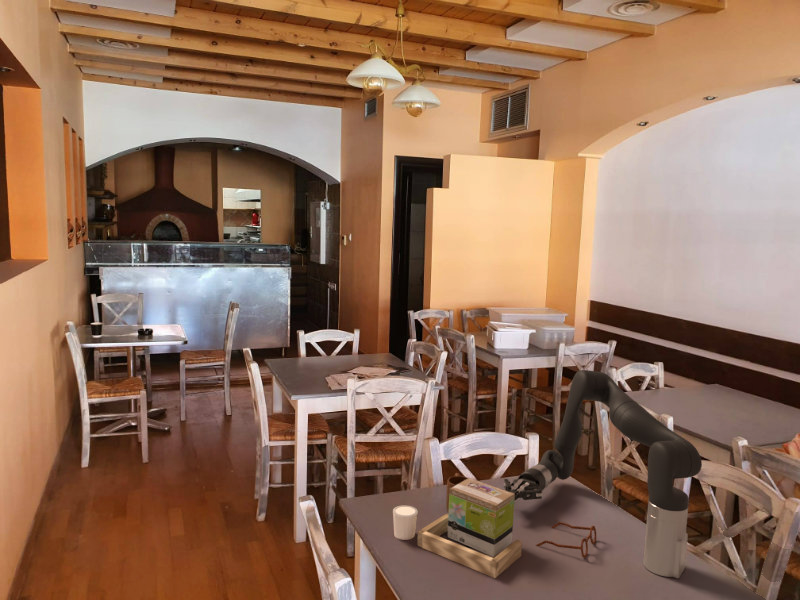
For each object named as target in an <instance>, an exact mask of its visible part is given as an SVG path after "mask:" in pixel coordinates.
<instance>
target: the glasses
mask: <svg viewBox="0 0 800 600" xmlns="http://www.w3.org/2000/svg"><path fill="white" fill-rule="evenodd" d="M559 525H562V526H565V527H568V528H569V529H575V530H584V531H589V534H588V535H587V536H586V538H584V537H583V538H582V540H581V543H580V546H577V545H568V544H560V543H559V544H558V543H556V542H554V541H552V540H551V541H550V540H544V541H541V542H539V543H536V544H535V546H536V547H541V546H543V545H545V544H548V545H549V544H550V545H552V546H555V547H558V548H562V549H563V548H565V549H573V550H580V552H581V556H582V558H583V559H584V558H585V559H586V558H587V556H588V553H589V549H588V548H589V547H588V542H589V540H590V543H591V544H592V545H595V544H596V542H597V530H596V526H595V525H591V527H589V526H588V527H587V526H578V525H577V526H576V525H571V524H568V523H566V522H561V521H559V522H557V523H555V524H554V525H552V526H551V527H550V528H551V529H555V528H557V527H558V526H559ZM593 532H594V533H593ZM592 533H593V534H594V537H593V534H592ZM584 543H585V553H584Z"/></svg>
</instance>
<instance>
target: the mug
mask: <svg viewBox="0 0 800 600" xmlns="http://www.w3.org/2000/svg"><path fill="white" fill-rule="evenodd" d="M468 478H469V477H466V476H462V475H461V474H460V473H459V472H456V473H455V474H454V475H453V476H449V478H447V483H446V499H445V500H446V501H445V507H446V508H445V509H446V511H447V512H448V513H449V494H450V488H452V487H454V486H456V485H457V484H459V483H461V482H463V481H464V480H466V479H468Z"/></svg>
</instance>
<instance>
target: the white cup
mask: <svg viewBox="0 0 800 600" xmlns="http://www.w3.org/2000/svg"><path fill="white" fill-rule="evenodd" d="M418 512H419V511H418V509H417V507H414V506H412V505H397V506H395V507H394V508H393V509H392V516H393V517H392V520H393V534H394V535H393V536H394V537H395V538H396V539H398V540H402V541H404V540H405V541H407V540H408V541H409V540H411V539H413V538H414V537H415V536H416V535H415V534H416V530H417V529H416V528H417V521H418Z"/></svg>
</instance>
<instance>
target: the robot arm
mask: <svg viewBox="0 0 800 600" xmlns="http://www.w3.org/2000/svg"><path fill="white" fill-rule="evenodd" d="M583 401H590V402H591V401H592V402H598V403H602V404H604V405H605V406H607V407H608V408H609V410H608V416H609V420H610V422H611V424H612V425H613V426H614V427H615V428H616V430H618V431H619V432H620V433H621V434H622V435H623V436H625V437H627V438H628V439H629V440H632V441H633V442H636V443H639V444H641V445H644V446H646V447H649V450H648V455H647V456H648V457H647V481H646V483H647V491H648V503H647V504H648V505H647V516H646V524H645V525H646V526H645V539H644V549H643V550H644V553H643V563H642V564H643V566H644V567H645V568H646V570H648V571H650V572H651V573H653V574H655V575H657V576H661V577H666V578H675V579H680V577H681V576H682V573H683V572H684V571H685V569H686V568H685V567H686V559H687V557H686V556H687V547H688V537H689V536H688V535H689V533H687V525H688V524H687V523H688V512H689V504H690V499H689V495H688V494H687V492H685V491H684V490H682V489H680V488H677V487H675V486H674V480H678V479H687V478H688V479H689V478H692V477H695V476H697V475H698V474H699V473H700V472H701V470H702V464H703V462H702V457H701V455H700V453H699V451H698V449H697V448H696V447H695V446H694V444H692V443H691V442H690V441H689V440H688V439H686V438H684V437H683V436H682V435H679V434H678V433H676V432H675V431H673V430H672V429H670V428H669V427H667V426H666V425H665V424H663V423H662V422H661V421H660V420H659V419H657V418H656V417H655V416H653V415H652V414H651V413H649V411H648V410H646V409H645V407H643V406H642V405H641V404H639V403H638V402H637V401H636V400H634V399H633V398H632V397H631V396H630V395H629V394H627V393H626V392H625V391H623V390H622V389H621V388H620V387H619V385H618V384H617V383H616V382H615V381H614V380H613V379H612V378H611V376H609V375H608V373H605V372H602V371H597V370H587V369H580V370H578V371H577V372H576V373H575V374H574V376H573V378H572V381H571V384H570V387H569V392H568V397H567V401H566V405H565V406H566V407H565V412H564V415H563V418H562V421H561V425H560V427H559V429H558V432H557V435H556V437H555V440H554V442H553V446H554V448H555V449H548V450H546V451H545V452H544V453H543V455H542V457H541V460H540V461H539V462H538V463H537V464H535V465H533V466H531V467H530V468H528V469H526V470H525V471H523V472H522V473H521V474H519V475H518V478H515V479H512V481H510V480H509V479H508V478H504V479H503V480H504V481H503V488H504V490H505V491H508V492H511V493H514V494H515V499H514V502H515V501H517V500H520V499H522V500H524V501H528V500H541V499H542V497H543V491H544V490H545V489H546V488H547V487H548V486H549V485H550V484H551V483H553V482H554V481H555V480H556V479H559V480H562V481H564V480H567V479H569V478H570V477H571V476H572V473H573V472H574V471H573V470H574V466H575V465H574V464H575V455H576V454H575V453H576V450H577V448H578V445H579V443H580V440H581V438H582V435H583V424H582V421H581V420H582V419H581V415H580V414H581V413H580V408H581V406H582V404H583ZM556 450H557V451H556Z"/></svg>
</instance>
